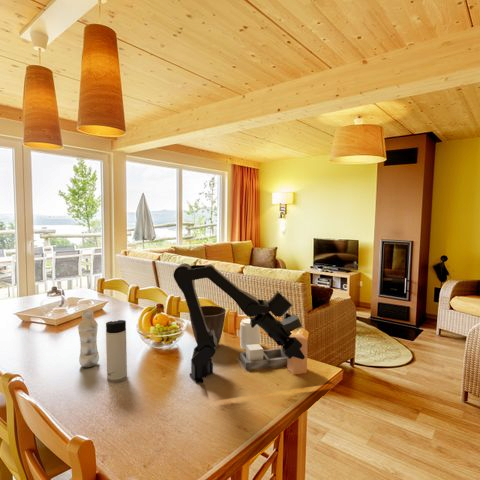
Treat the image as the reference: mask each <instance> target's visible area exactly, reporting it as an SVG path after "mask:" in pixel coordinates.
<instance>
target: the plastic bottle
mask: <svg viewBox="0 0 480 480" xmlns="http://www.w3.org/2000/svg"><path fill="white" fill-rule="evenodd" d="M81 314H82V315H81V318H82V319H81V321H80V322H79V324H78V326H77V329H78V335H79V342H80V343H79V344H80V351H79V353H80V354H79V358H78V359H79V360H78V361H79V365H80V366H81V367H82V368H91V367H94V366H96V365H97V364H98V363H99V360H100V355H99V350H98V343H97V341H98V340H97V339H98V327H99V325H98V322H97V320H95V318H94V317H95V316H94V310H90V309H89V310H84V311H82V313H81Z"/></svg>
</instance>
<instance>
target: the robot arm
mask: <svg viewBox="0 0 480 480" xmlns="http://www.w3.org/2000/svg"><path fill="white" fill-rule="evenodd" d="M172 275H173V279H174V281H175V283H176V285H177V286H178V288H179V290H180V291H181V292H182V294H183V295H184V299H185V302H186V305H187V309H188V311H189V312H190V314H189V316H190V315H191V318H192V321H193V324H194V327H195V330H196V335H197V343H196V346H195V348H194V349H193V351H192V357H191V360H190V363H191V364H190V368H191V369H190V373H189V377H190V378H191V379H192V381H194V382H195V384H199V383H202V382H204V378H208V377H209V376H210V375H212V374H213V373H214V363H213V359H212V358H213V357H214V356H215V354H216V349H217V348H218V347H217V338H216V337H215V333H214V329H213V330H211V331H210V330H209V328H208V327H207V325H206V321H205V318H204V315H203V312H202V309H201V306H202V305H201V303H200V300H199V297H198V294H197V290H196V286H195V285H196V283H195V281H196V280H201V279H209V281H211V282H212V283H213V284H214V285H216V286H217V287H218V288H219V289H220V290H221V291H223V292H224V293H225V294H227V296H229V297H230V298H231V299H232V300H234V302H235V303H236V304H237V306H238V308H239V309H240V310H241V311H242V312H243V313H244V314H245V315H246V316H247V318H250V324H251V327H252V328H253V327H254V326H255V325H256V324H257V325H258V326H260V329H261V330H263V331H264V332H265V333H266V335H267V336H268V337H269V338H271V340H273V341H274V342H275V343H276V345H277V346H278V347H281V348H282V351H283V353H284V354H285V355H286V356H287V357H288V358H289V359H290V358H292V357H296V358H300V359H304V358H305V356H304V355H303V353H302V352H301V350H300V348H301V347H302V344H301V343H300V341H299V340H298V339H297V338H295V337H291V338H290V337H289V336H290V335H293V334H292V332H293V331H295V330H297V329H300V328H301V327H302V326H303V325H302V323H301V320H300V317H298V316H297V315H296V314H294V313H292V314H290V313H289V312H288V311H289V310H290V309H291V308H292V307H293V306H294V305H293V304H292V303H291V302H290V301H289V300H288V298H287V297H286V296H285V295H283V294H281V292H280V291H277V292H276V293H274V295H272V297H271V298H270V299H269V300H266V299H258V298H257V297H256V296H254V295H252V294H251V293H249V292H246V291H245V290H242V289H240V288H239V287H238V286H237V285H236V284H235V283H233V282H232V281H231V280H230V279H229V278H227V277H226V276H225V275H224V274H223V273H221V272H220V271H219V269H217V268H216V267H215V266H214V265H213V264H210V263H209V264H199V265H198V264H195V265H193V264H191V265H190V264H188V263H181V264H179V265H178V266H177V267H176V268H175V269H174V271H173V273H172ZM189 312H188V313H189ZM277 317H278V318H281V317H283V318H282V320H281V321H280V320H279V319H278V318H277ZM216 347H217V348H216Z"/></svg>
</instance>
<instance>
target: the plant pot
mask: <svg viewBox="0 0 480 480" xmlns="http://www.w3.org/2000/svg"><path fill="white" fill-rule="evenodd" d="M200 306H201V309H202V312H203V315H204V318H205V321H206V325H207V327H208V328H209V330H210V331H211V330H213V329H214V333H215V337H216V338H217V347H216V349H217V348H218V347H219V343H220V341H221V338H222V334H223V330H224V325H225V320H226V314H227V313H226V312H227V311H226V309H225V308H224V307H222V306H218V305H217V306H216V305H200ZM188 313H189V321H190V324H191V325H190V326H191V329H192V333H193V337H194V339H195V343H196V344H197V335H196V330H195V327H194V324H193V321H192V318H191V315H190V312H188Z"/></svg>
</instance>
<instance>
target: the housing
mask: <svg viewBox="0 0 480 480" xmlns="http://www.w3.org/2000/svg"><path fill="white" fill-rule="evenodd" d="M238 356H239V357H236V361H237V362H238V364H239V366H240V368H241V369H242V371H243V372H244V373H246V372H254V371H262V370H269V369H277V368H279V369H280V368H286V367H287V361H288V357H287V356H286V355H285V354H284V353H283V351H282V347H279V348H270V349H269V348H268V349H263V360H257V361H247V359H246V351H243V352H241V351H240V352H239V353H238Z"/></svg>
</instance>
